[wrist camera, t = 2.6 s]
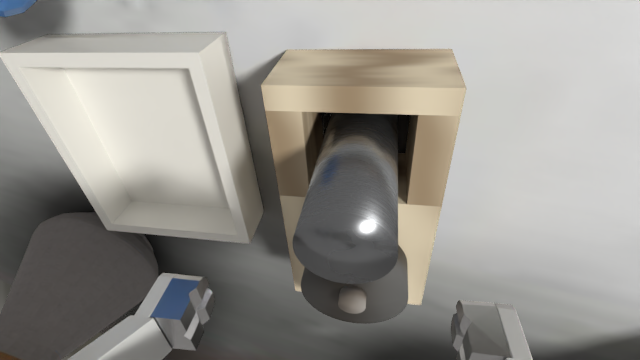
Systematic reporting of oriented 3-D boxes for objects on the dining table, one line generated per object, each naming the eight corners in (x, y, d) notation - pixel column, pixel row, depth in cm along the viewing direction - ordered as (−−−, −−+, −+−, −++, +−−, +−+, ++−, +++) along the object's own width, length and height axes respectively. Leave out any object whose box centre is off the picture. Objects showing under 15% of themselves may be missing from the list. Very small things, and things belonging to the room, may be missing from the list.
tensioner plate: (451, 49, 18) (480, 125, 12) (417, 250, 28) (423, 350, 22) (287, 49, 20) (236, 118, 14) (308, 240, 30) (285, 331, 24)
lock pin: (400, 84, 20) (402, 217, 12) (395, 143, 23) (394, 288, 14) (331, 83, 21) (286, 208, 12) (333, 141, 23) (297, 278, 15)
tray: (225, 32, 20) (198, 52, 17) (264, 211, 29) (250, 243, 26) (46, 34, 22) (-3, 52, 19) (132, 201, 31) (107, 230, 28)
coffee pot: (53, 176, 30) (-157, 345, 19) (179, 228, 32) (56, 414, 20) (66, 292, 44) (-52, 432, 32) (155, 325, 45) (72, 470, 34)
